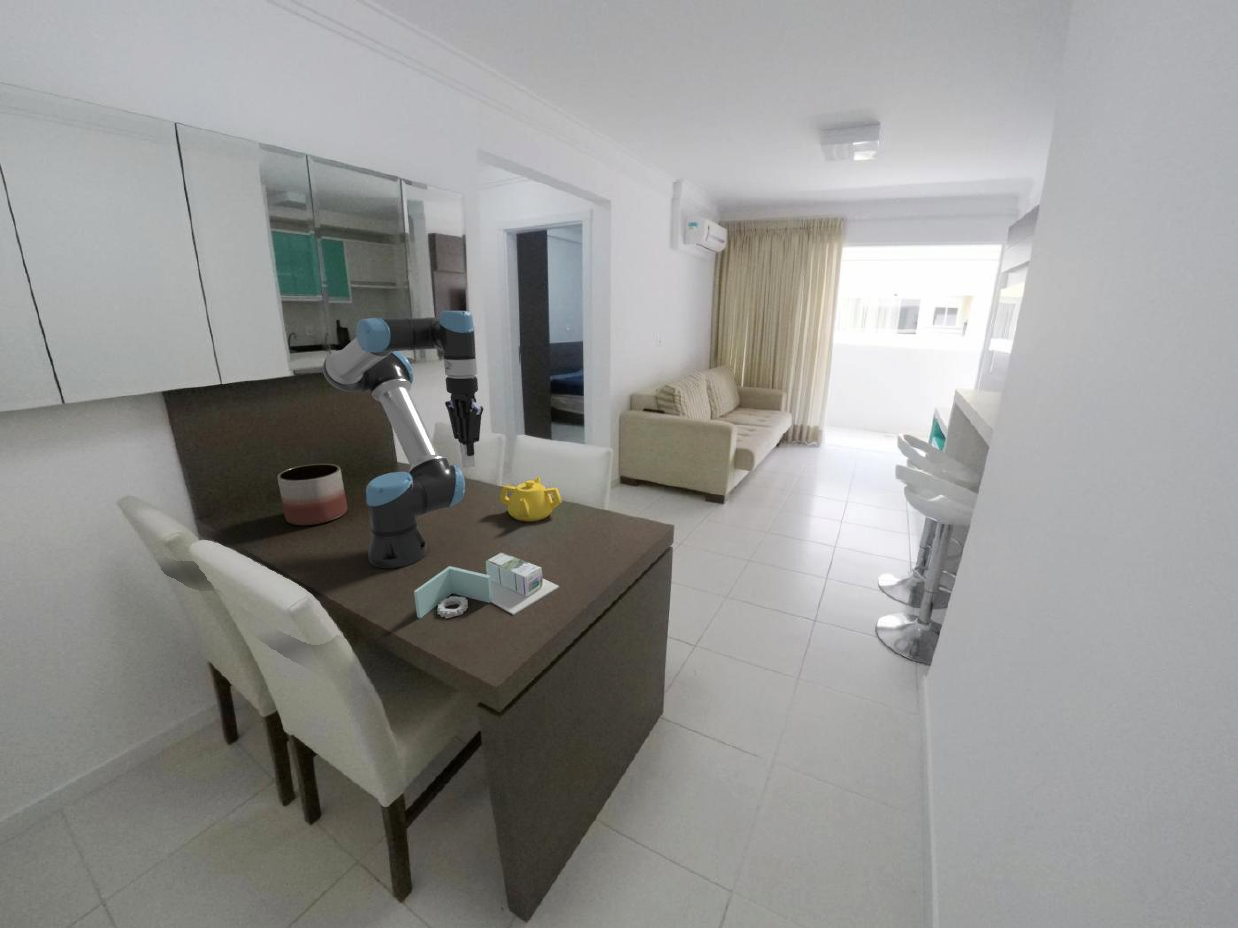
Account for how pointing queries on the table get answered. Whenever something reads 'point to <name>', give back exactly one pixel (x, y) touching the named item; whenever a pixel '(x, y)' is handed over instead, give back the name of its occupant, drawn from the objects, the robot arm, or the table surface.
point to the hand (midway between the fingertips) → (468, 466)
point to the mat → (518, 596)
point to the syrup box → (514, 573)
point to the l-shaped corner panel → (452, 591)
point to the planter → (312, 494)
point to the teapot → (530, 500)
